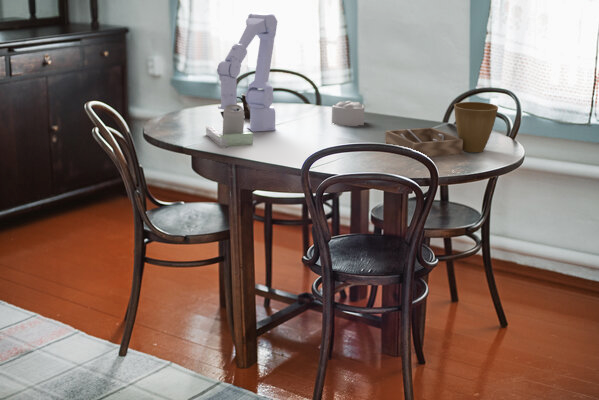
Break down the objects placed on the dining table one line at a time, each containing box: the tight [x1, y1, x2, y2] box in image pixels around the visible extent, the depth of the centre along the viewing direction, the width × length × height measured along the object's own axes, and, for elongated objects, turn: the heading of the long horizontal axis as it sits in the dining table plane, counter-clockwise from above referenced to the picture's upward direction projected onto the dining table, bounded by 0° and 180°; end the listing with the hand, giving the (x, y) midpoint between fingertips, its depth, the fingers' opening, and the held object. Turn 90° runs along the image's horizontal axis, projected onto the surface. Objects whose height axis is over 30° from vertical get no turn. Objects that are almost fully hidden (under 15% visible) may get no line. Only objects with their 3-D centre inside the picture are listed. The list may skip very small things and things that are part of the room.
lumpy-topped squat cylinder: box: [331, 100, 365, 127], centre depth 308 cm, size 10×13×9 cm
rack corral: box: [384, 127, 463, 158], centre depth 267 cm, size 19×21×5 cm
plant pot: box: [453, 101, 499, 153], centre depth 265 cm, size 15×15×16 cm
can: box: [222, 103, 245, 136], centre depth 275 cm, size 8×8×12 cm
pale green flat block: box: [205, 126, 254, 149], centre depth 277 cm, size 12×22×4 cm, turn 21°
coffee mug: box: [237, 92, 250, 121], centre depth 316 cm, size 12×9×10 cm
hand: (229, 130), depth 280 cm, fingers closed, pressing on can
